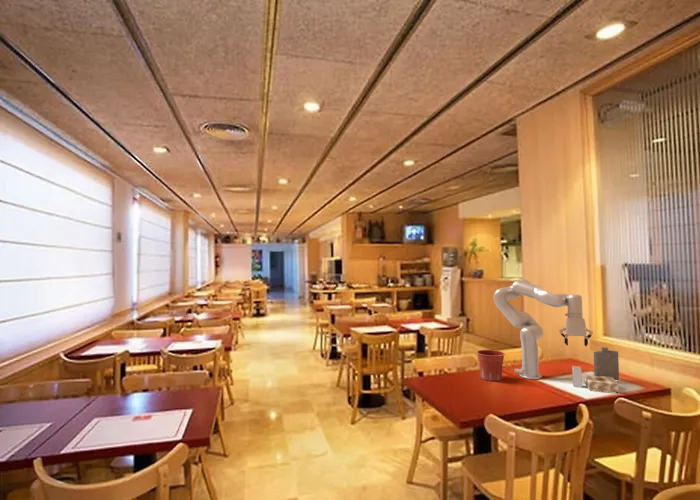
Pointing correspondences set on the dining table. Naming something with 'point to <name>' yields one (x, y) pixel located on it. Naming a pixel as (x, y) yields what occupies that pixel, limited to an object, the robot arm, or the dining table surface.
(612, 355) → the hip flask
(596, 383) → the birch block
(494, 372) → the flower pot
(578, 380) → the light grey tall block
